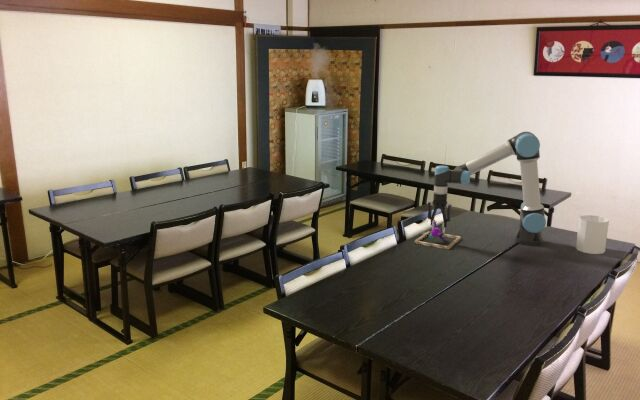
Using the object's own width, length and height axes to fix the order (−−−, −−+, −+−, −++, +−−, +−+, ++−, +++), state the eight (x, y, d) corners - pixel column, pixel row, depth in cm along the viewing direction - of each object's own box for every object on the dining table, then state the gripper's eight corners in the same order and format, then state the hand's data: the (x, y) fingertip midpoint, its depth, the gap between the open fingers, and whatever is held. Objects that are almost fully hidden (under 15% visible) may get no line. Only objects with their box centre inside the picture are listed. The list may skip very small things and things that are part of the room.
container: (597, 256, 287) (602, 223, 283) (571, 249, 298) (574, 218, 293) (608, 250, 296) (613, 218, 292) (582, 244, 307) (586, 213, 302)
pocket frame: (461, 238, 316) (461, 236, 315) (448, 249, 297) (448, 246, 297) (423, 232, 328) (423, 230, 328) (409, 242, 309) (409, 240, 309)
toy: (451, 238, 312) (444, 239, 298) (436, 246, 316) (429, 246, 302) (441, 220, 315) (434, 220, 302) (427, 227, 319) (419, 227, 305)
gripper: (458, 193, 303) (455, 232, 309) (427, 189, 313) (425, 227, 318) (454, 196, 297) (451, 236, 303) (422, 192, 307) (420, 230, 312)
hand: (438, 231), depth 311 cm, fingers closed on toy, 5 cm apart
